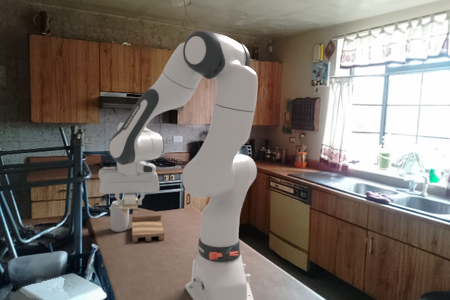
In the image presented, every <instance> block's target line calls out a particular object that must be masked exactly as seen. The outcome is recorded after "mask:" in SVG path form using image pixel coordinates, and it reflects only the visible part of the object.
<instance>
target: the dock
mask: <svg viewBox="0 0 450 300" xmlns="http://www.w3.org/2000/svg"><path fill="white" fill-rule="evenodd" d="M131 225H132V226H131V239H132V243H139V238H144V239H145V242H152V238H155V237H157V238H158V241H165V231H164V227H163V223H162V215H161V214H159V215H158V214H157V215H156V214H155V215H139V216H134V215H133V216H131Z"/></svg>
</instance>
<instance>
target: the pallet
mask: <svg viewBox="0 0 450 300" xmlns="http://www.w3.org/2000/svg"><path fill="white" fill-rule="evenodd" d="M137 199H138V197H137V196H136V204H124V197H122V200H123V205H122V214H127V209H129V210H131V209H132V215H135V214H138V211H139V208H138V207H139V205H138V203H137Z"/></svg>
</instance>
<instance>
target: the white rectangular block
mask: <svg viewBox="0 0 450 300" xmlns="http://www.w3.org/2000/svg"><path fill="white" fill-rule="evenodd" d="M123 194H124V197H123V198H124V204H136V197H137V193H123Z"/></svg>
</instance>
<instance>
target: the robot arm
mask: <svg viewBox="0 0 450 300" xmlns="http://www.w3.org/2000/svg"><path fill="white" fill-rule="evenodd" d="M250 63H251V55H250V51H249V50H248V48H247V47H246V46H245V45H244V44H243V43H241V42H240V41H238V40H235V39H233V38H230V37H228V36H226V35H224V34H222V33H217V32H212V31H211V30H197V31H194V32H193V33H190V35H188V37H187V38H186V40H185V41H184V42H182V43H180V44H179V45H178V46H177V47H176V49H175V50H174V52H172V54H171V56H170V57H169V59H168V60H167V63H166V64H165V66H164V68H163V70H162V72H161V74H160V75H159V77H158V78H157V80H156V81H155V82H154V84H153V85H152V86H151V87H149V88H148V89H147V90H146V91H144V93H142V95H140V97H139V98H138V100H137V102H136V103H135V105H133V108H132V110H131V111H130V112H129V115H128V116H127V118H125V120H124V121H121V122H120V123H119V124H118V127H117V131H116V132H115V133H114V135H112V137H111V138H110V141H109V144H108V152H109V155H110V157H111V158H112V160H114V161H115V162H116V166H109V167H108V166H103V167H101V168H100V169H99V171H98V178H99V180H100V181H99V193H100V194H101V195H113V194H114V197H115V199H116V201H117V200H118V206H122V205H123V199H120V194H124V193H136V194H140V197H139V198H137V203H138V206H142V201H143V199H144V198H145V196H146V193H158V192H159V191H160V181H159V180H160V179H159V176H158V174H157V172H156V171H157V170H156V169H157V167H156V165H155V164H154V163H151V162H148V161H152V160H157V159H159V158H161V156H162V155H163V154H164V150H165V142H164V138H163V137H162V135H161V134H160V133H158V132H156V131H153V130H151V129H150V128H147V126H148V125H149V123H150V121H151V120H152V119H153V118H154V117H156V116H157V115H160V114H162V113H164V112H167V111H170V110H174V109H178V108H181V107H183V106H185V105H186V104H187V103H188V102H189V101H190V100H191V99H192V97H193V96H194V95H195V92H196V90H197V88H198V86H199V84H200V82H201V80H202V79H203V78H205V79H207V80H212V79H213V80H214V81H215V83H216V96H215V100H214V105H213V111H212V114H211V120H210V125H209V129H208V132H207V134H206V135H207V136H206V137H205V140H204V141H203V143H202V145H201V147H200V148H199V150H198V152H197V153H196V155H195V156H194V157H193V158H192V159H191V160H190V161H189V162H187V164H186V165H185V166H184V167H183V170H182V175H181V179H182V180H181V181H182V185H183V187H184V188H185V190H186V192H187V193H188V194H189V195H190V196H191V197H195V198H210V199H209V201H208V203H207V205H206V206H205V207H204V208H203V209H202V211H201V215H200V234H199V235H200V237H199V238H198V243H197V249H198V252H197V253H198V254H196V257H194V258H193V260H192V269H191V270H192V271H191V280H190V281H189V282H188V283H186V285H185V289H186V291H187V293H188V294H189V296H190V297H191V298H192V300H255V299H254V296H253V292H252V289H251V286H250V283H251V281H252V278H251V274H250V273H246V272H245V270H246V269H247V264H246V263H243V259H242V258H243V257H242V254H241V243H240V239H239V232H240V231H239V230H240V229H239V228H240V217H241V213H242V208H243V205H244V202H245V199H246V196H247V192H248V190H249V188H250V187H251V186H252V184H253V182H254V181H255V180H256V178H257V175H258V168H257V164H256V162H255V161H254V159H253V158H252V157H251V156H249V155H247V154H243V153H239V151H240V150H241V148H242V147H243V146H244V145H245V144H246V143H247V142H248V140H249V139H250V137H251V136H250V135H251V132H252V126H253V121H254V116H255V112H256V106H257V101H258V87H259V86H258V85H259V83H258V82H259V80H258V79H259V77H258V74H257V73H256V71H255V70H254V69H252V68H251V67H250Z"/></svg>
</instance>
